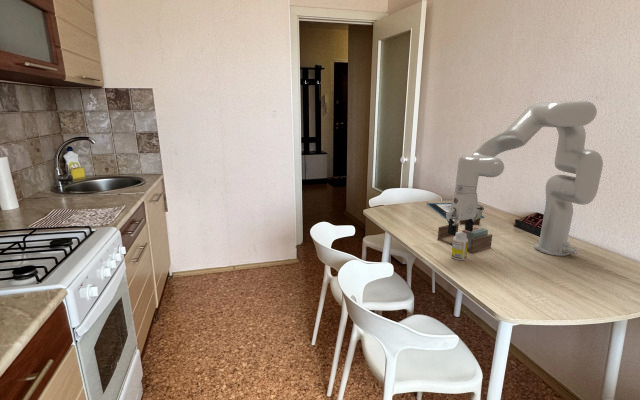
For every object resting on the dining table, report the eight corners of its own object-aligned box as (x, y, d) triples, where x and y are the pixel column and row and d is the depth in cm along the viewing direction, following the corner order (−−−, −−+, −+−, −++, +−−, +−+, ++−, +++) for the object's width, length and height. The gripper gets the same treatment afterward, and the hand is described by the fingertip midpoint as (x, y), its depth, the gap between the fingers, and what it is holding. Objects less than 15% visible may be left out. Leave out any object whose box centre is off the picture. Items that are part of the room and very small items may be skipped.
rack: (490, 248, 148) (493, 230, 146) (472, 253, 142) (474, 235, 140) (455, 235, 163) (457, 218, 161) (437, 239, 157) (439, 222, 155)
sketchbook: (445, 220, 187) (445, 216, 186) (425, 205, 216) (425, 202, 215) (484, 219, 188) (485, 215, 188) (459, 204, 217) (460, 201, 217)
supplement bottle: (461, 254, 141) (464, 230, 138) (469, 260, 136) (471, 235, 133) (448, 255, 140) (451, 231, 138) (455, 260, 135) (457, 236, 133)
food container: (478, 221, 182) (480, 203, 180) (482, 225, 176) (484, 206, 174) (453, 221, 184) (455, 202, 181) (457, 224, 178) (459, 205, 175)
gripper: (458, 193, 124) (452, 239, 128) (489, 189, 132) (482, 232, 136) (441, 189, 130) (436, 232, 134) (472, 185, 138) (466, 226, 143)
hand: (460, 232), depth 135 cm, fingers open, 9 cm apart
